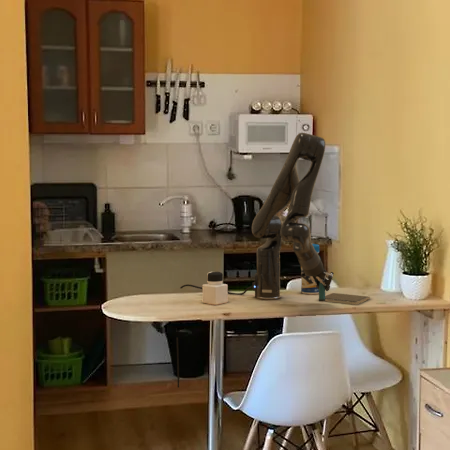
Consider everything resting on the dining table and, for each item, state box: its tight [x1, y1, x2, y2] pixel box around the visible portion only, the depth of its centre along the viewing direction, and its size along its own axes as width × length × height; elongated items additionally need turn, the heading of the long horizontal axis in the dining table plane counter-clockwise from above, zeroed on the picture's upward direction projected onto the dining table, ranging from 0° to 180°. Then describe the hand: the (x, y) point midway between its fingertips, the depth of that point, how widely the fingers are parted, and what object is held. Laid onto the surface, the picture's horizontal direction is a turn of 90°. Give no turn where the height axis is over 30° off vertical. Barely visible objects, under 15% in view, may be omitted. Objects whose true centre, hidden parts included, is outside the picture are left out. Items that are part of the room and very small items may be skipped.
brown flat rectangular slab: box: [324, 292, 371, 306], centre depth 295 cm, size 16×13×1 cm
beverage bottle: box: [300, 243, 320, 295], centre depth 309 cm, size 8×8×20 cm
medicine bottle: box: [201, 271, 229, 306], centre depth 291 cm, size 7×7×12 cm
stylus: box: [318, 281, 326, 303], centre depth 286 cm, size 2×2×8 cm
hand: (324, 288), depth 288 cm, fingers closed on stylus, 2 cm apart
